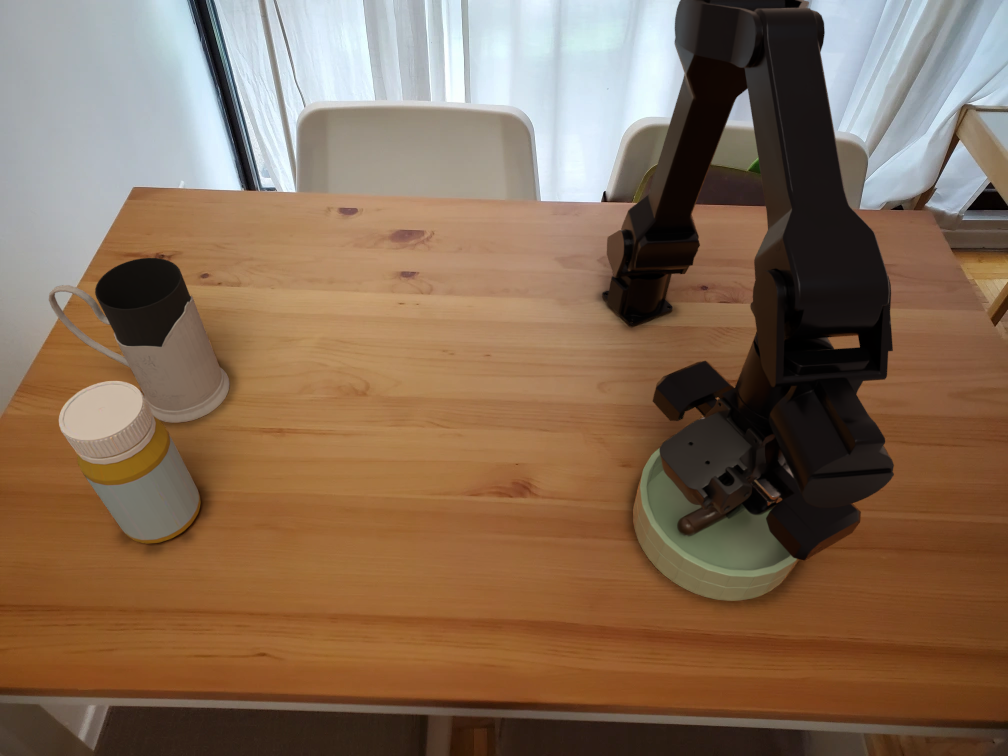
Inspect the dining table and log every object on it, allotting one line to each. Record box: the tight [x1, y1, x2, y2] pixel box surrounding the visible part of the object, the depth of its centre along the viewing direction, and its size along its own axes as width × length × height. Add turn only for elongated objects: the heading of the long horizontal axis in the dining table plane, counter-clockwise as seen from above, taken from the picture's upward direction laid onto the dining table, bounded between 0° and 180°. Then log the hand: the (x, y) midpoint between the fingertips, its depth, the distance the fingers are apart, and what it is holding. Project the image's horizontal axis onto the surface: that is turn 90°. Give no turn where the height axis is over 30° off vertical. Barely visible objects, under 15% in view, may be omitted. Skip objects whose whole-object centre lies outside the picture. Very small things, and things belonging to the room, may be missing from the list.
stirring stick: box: [677, 507, 727, 537], centre depth 65 cm, size 10×2×2 cm, turn 119°
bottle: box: [58, 380, 202, 544], centre depth 61 cm, size 7×7×15 cm
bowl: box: [632, 447, 800, 602], centre depth 66 cm, size 15×15×4 cm
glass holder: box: [48, 257, 231, 424], centre depth 72 cm, size 9×14×15 cm, turn 85°
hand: (723, 507), depth 65 cm, fingers closed on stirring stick, 2 cm apart
